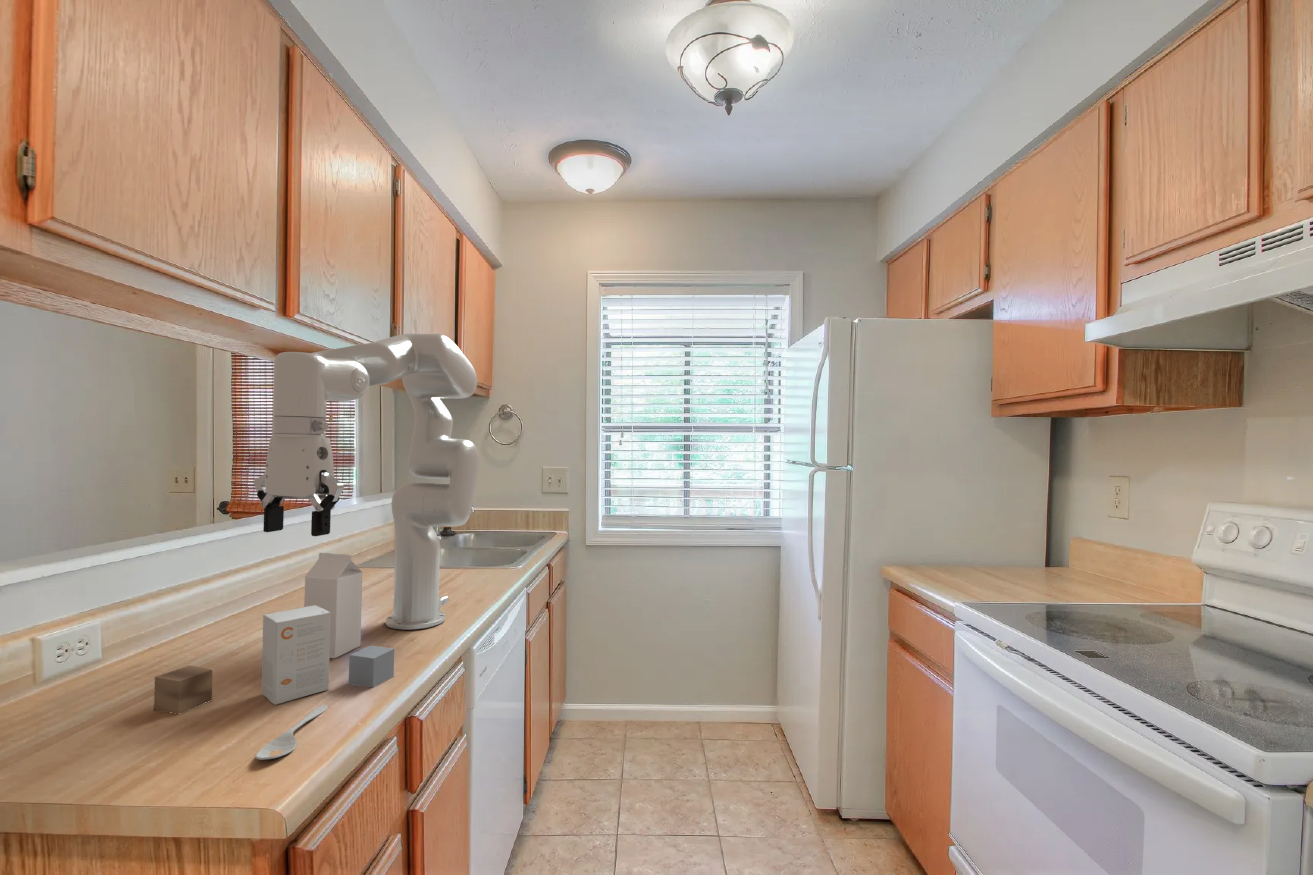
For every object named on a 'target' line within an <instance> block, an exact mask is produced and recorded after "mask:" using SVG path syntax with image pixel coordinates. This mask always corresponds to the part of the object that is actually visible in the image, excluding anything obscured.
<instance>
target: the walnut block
mask: <svg viewBox="0 0 1313 875" xmlns="http://www.w3.org/2000/svg"><path fill="white" fill-rule="evenodd" d="M213 670H214V669H213V668H208V667H207V668H206V667H201V666H194V665H186V666H182V667H180V668H177V669H174V670H171V671H168V672H166V673H163V674H160V675H158V676H157V675H156V676H154V692H153V693H154V697H153V698H154V699H153V710H154V709H155V711H159V712H164V713H169V712H172V713H171V714H174V713H176V714H175V715H180V714H179V713H181V714H183V713H186V712H188V711H190V710H192V708H193V709H194V707H195V708H197V707H196V706H198V707H200V706H202V705H204V704H203V703H205V702H207V703H209V702H211V701H210V700H212V698H213V697H212V696H213V673H214V672H213ZM208 701H209V702H208ZM212 701H213V700H212ZM201 704H202V705H201ZM205 704H206V703H205ZM199 705H200V706H199ZM189 709H190V710H189ZM187 710H188V711H187ZM185 711H186V712H185ZM182 712H183V713H182Z"/></svg>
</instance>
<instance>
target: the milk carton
mask: <svg viewBox="0 0 1313 875" xmlns="http://www.w3.org/2000/svg"><path fill="white" fill-rule="evenodd" d="M362 596H363V571H362V570H361V569H360V567H358V566H357V564H355V563H354V562H353V561H352V554H344V553H343V554H342V553H328V552H318V559H317V560H316V562H315V563H314V564H313V565H312V567H311V568H310V570H309V571H308V572H307V573H306V575H305V576H304V598H303V599H304V604H303V605H304V606H303V607H308V606H314V605H316V606H318V607H321V608H323V609H325V610H327V611H328V612H330V640H329V659H336V658H338V657H342V656H343V655H344V654H347V653H348V652H351V651H353V650H354V649H357V648H359V647H361V639H362V638H361V637H362V634H361V633H362V632H361V631H362V630H361V629H362V606H363V605H362V604H363V603H362V602H363V600H362V599H363V598H362Z"/></svg>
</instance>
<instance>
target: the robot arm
mask: <svg viewBox="0 0 1313 875" xmlns="http://www.w3.org/2000/svg"><path fill="white" fill-rule="evenodd" d="M273 361H274V362H273V363H274V364H273V389H272V390H273V391H272V393H273V394H272V398H273V399H272V432H271V436H270V440H269V442H268V448H267V454H266V459H265V460H266V461H265V471H264V472H265V473H264V474H262V475H260V476H258V477H257V478H255V479H254V480H253V484H254V488H255V490H256V496H257V498H258V499H259V500H260V506H261V507H262V508H263V527H262V528H263V532H264V533H274V532H279V531H282V530H283V529H284V519H285V518H284V515H285V514H284V513H285V510H284V509H285V507H284V506H283V505H281V504H282V503H283V502H284V500H285V499H286V498H287V499H300V500H301V499H302V500H304V499H306V500H307V499H308V500H309V502H310V503H311V505H312V506H313V508H314V509H315V510H313V511H312V512H311V522H310V523H311V524H310V525H311V528H310V532H311V533H310V534H311V535H310V536H312V537H320V536H326V535H330V533H331V519H332V518H331V516H332V514H331V512H332V511H333V510H334V509H335V507H336V506H335V505H336V504H337V503H338V502H339V501H340V497H341V494H342V492H343V490H344V488H345V484H344V483H343V482H341V481H340V480H338V479H337V478H336V477H335V469H334V457H333V449H332V445H331V441H330V438H329V437H326V435H327V433H326V432H327V430H328V429H329V424H328V422H327V402H351V401H355V400H358V399H360V398H362V397H363V396H364V395H365V394H366V393H367V392H368V390H369V387H375V386H381V385H382V386H383V385H388V384H389V383H392V382H394V381H396V380H399V379H401V378H402V379H401V380H402V384H403V388H404V390H405V392H406V394H407V396H408V398H409V400H410V402H411V405H412V408H413V411H414V418H415V419H414V426H413V432H412V436H411V441H410V447H409V451H408V456H407V457H408V458H407V468H408V472H409V473H410V474H411V475H412V476H413V477H415V478H419V479H420V478H421V479H433V480H435V479H436V480H450V481H449V483H446V484H445V483H432V482H430V483H429V482H428V483H427V482H411V483H410V482H409V483H405V484H403V485H401V486H399V487H397V489H396V490H395V491H394V493H393V495H392V498H391V512H392V517H393V518H392V519H393V523H394V524H393V525H394V533H395V534H394V536H395V538H394V540H395V541H394V543H395V544H394V545H395V547H394V549H395V550H394V551H395V552H394V572H393V573H394V576H393V577H394V579H393V582H394V583H393V613H392V614H390V615H388V616H387V617H386V618H385V625H386V626H387V627H388V628H390V629H395V630H401V631H402V630H403V631H405V630H406V631H407V630H408V631H409V630H421V629H428V628H432V627H435V626H438V625H440V624H442V623H443V622H445V619H446V614H445V612H443V611H441V607H442V606H444V605H447V604H448V603H449V602H450V599H449V597H448V595H444V596H441V597H440V594H439V590H440V562H441V561H440V560H441V556H440V555H441V543H440V538H439V537H438V535H437V532H436V531H435V529H434V527H437V526H438V527H461V526H463V525H465V524H466V523H467V522H468V520H469V519H470V517H471V513H472V510H473V504H474V499H475V492H476V487H477V486H476V485H477V480H478V473H479V465H480V457H479V451H478V448H477V446H476V445H475V444H474V442H473V441H471V440H468V439H466V438H464V439H463V438H452V433H453V425H454V419H453V416H452V414H451V413H450V411H449V409H448V408H447V406H446V405H445V403H443V400H441V399H455V400H456V399H459V400H461V399H467V398H470V397H472V396H473V395H474V394H475V392H476V389H477V386H478V377H477V373H476V370H475V368H474V366H473V365H472V363H471V362H470V360H469V359H468V358H467V357H466V356H465V354H464V353H463V352H462V350H461V349H460V347H459V346H458V345H457V344H456V343H455V342H454V341H453V340H452V339H450V338H449V337H448V336H446V335H444V334H440V333H405V334H404V333H403V334H398V335H394V336H391V337H386V338H383V339H380V340H376V341H373V342H368V343H361V344H354V345H350V346H349V345H348V346H344V347H339V348H332V349H331V348H330V349H326V350H321V351H320V350H319V351H314V352H303V351H284V352H280V353H278V354H276V355H275V358H274V360H273ZM433 526H434V527H433Z"/></svg>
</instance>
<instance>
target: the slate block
mask: <svg viewBox="0 0 1313 875" xmlns="http://www.w3.org/2000/svg"><path fill="white" fill-rule="evenodd" d="M348 656H349V657H348V660H349V661H348V685H353V686H359V687H366V688H375V687H378V686H379V685H381V684H383V683H384V682H386V681H388V680H390V679H392V678H394V675H395V648H394V647H393V648H392V647H385V646H378V645H369V646H366V647H364V648H361V649H360V650H358V651H355V652H353V653H350V654H349V655H348Z"/></svg>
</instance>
